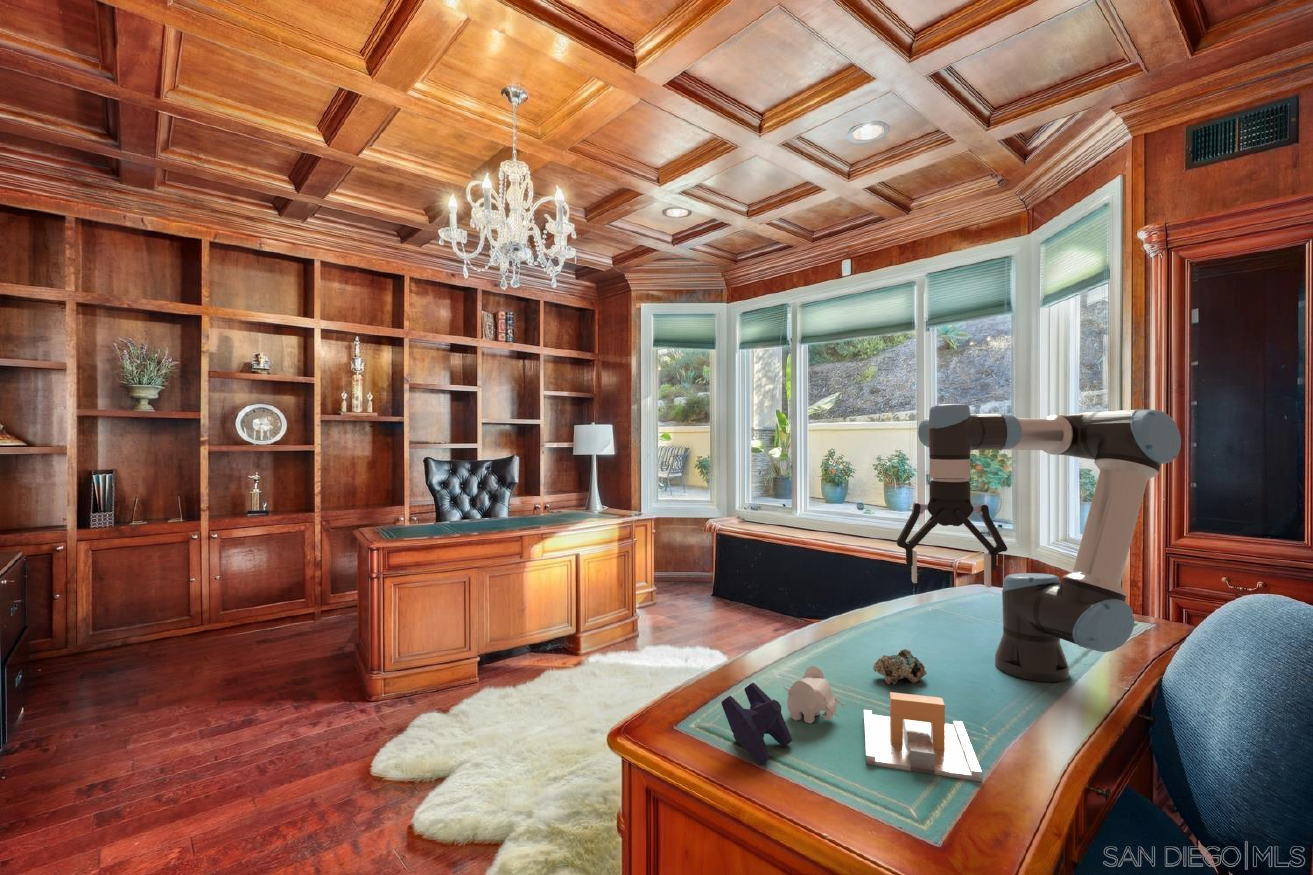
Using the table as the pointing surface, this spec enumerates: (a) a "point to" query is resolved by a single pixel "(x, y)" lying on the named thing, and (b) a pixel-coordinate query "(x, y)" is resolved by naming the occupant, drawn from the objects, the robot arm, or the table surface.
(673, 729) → the table surface
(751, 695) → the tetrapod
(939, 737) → the clip
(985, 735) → the table surface
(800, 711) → the elephant figurine
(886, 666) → the mineral specimen
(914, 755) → the rail
